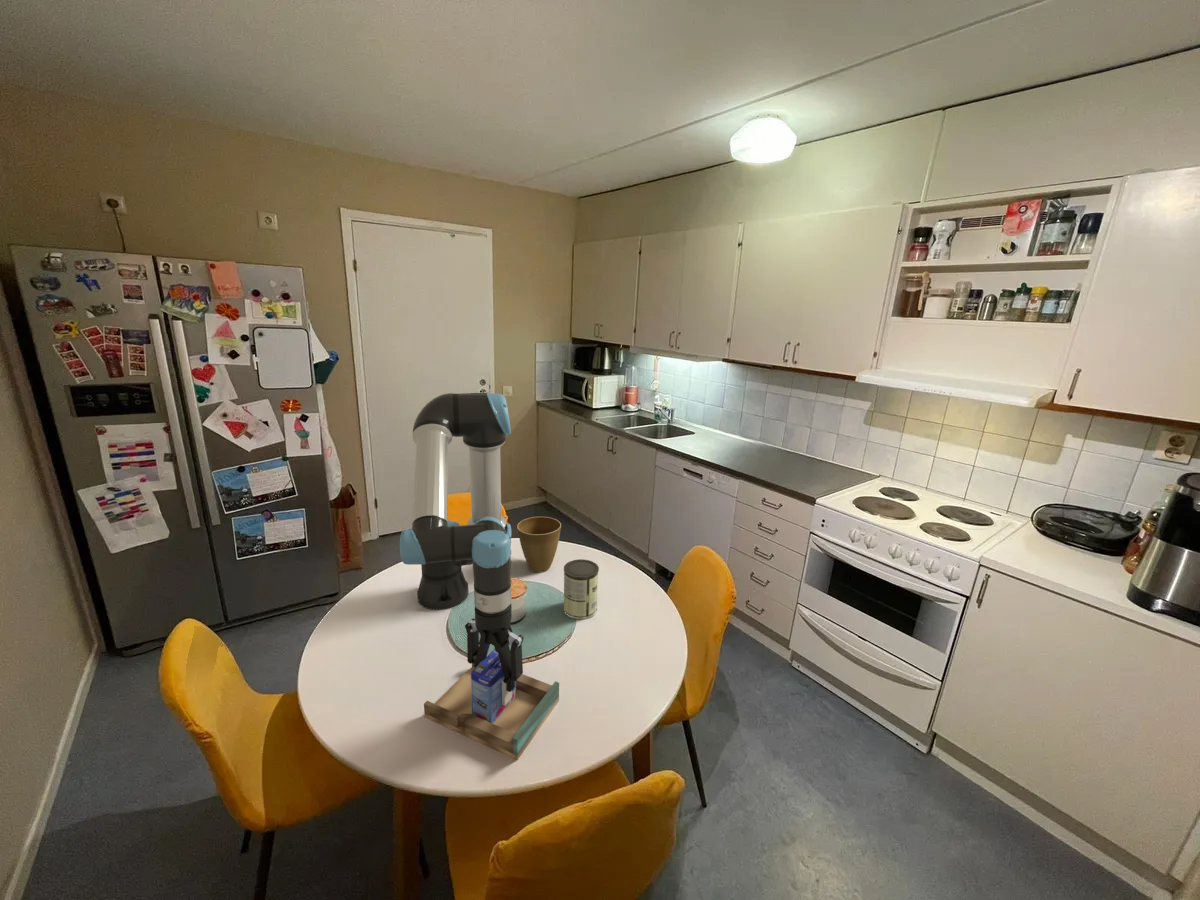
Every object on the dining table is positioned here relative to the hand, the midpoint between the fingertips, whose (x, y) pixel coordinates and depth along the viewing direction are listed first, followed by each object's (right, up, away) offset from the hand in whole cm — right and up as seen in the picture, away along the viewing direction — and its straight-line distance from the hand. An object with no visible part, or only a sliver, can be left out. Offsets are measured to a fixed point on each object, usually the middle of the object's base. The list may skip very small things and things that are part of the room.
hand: (495, 695), depth 106 cm
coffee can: (+17, +6, +39) cm, 43 cm away
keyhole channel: (-1, -4, +2) cm, 4 cm away
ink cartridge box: (0, -3, +1) cm, 3 cm away
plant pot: (+2, +13, +62) cm, 64 cm away
